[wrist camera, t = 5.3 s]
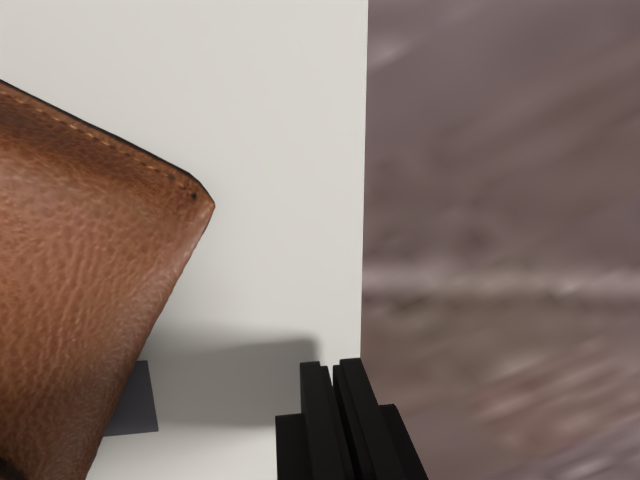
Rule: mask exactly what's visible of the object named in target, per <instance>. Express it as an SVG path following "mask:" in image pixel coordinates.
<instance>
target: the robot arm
mask: <svg viewBox="0 0 640 480" xmlns="http://www.w3.org/2000/svg"><path fill="white" fill-rule="evenodd" d="M300 396H301V413H297V414H287V415H277V416H275V430H276V459H277V480H429V479H428V477H427V475H426V473H425V470H424V468H423V466H422V464H421V461H420V459H419V457H418V455H417V452H416V450H415V448H414V446H413V443H412V441H411V439H410V436H409V434H408V432H407V430H406V427H405V425H404V423H403V421H402V418H401V416H400V414H399V412H398V409H397V408H396V406H395V405H394V404H388V405H378V403H377V400H376V398H375V395H374V393H373V390H372V387H371V385H370V382H369V380H368V377H367V374H366V372H365V369H364V367H363V364H362V361H361V359H360V358H347V359H340V361H339V365H333V386H332V382H331V378H330V374H329V370H328V366H321V365H320V361H312V362H300Z"/></svg>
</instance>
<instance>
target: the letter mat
mask: <svg viewBox="0 0 640 480" xmlns="http://www.w3.org/2000/svg"><path fill="white" fill-rule="evenodd" d="M367 24H368V0H0V79H1V80H3V81H5V82H7V83H9V84H11V85H13V86H15V87H17V88H19V89H21V90H23V91H25V92H27V93H29V94H31V95H33V96H36V97H38V98H40V99H42V100H44V101H46V102H48V103H50V104H52V105H54V106H56V107H58V108H60V109H62V110H64V111H66V112H68V113H70V114H72V115H74V116H76V117H78V118H80V119H82V120H84V121H86V122H88V123H91V124H93V125H95V126H97V127H99V128H102V129H104V130H106V131H108V132H110V133H113V134H115V135H117V136H119V137H121V138H123V139H125V140H127V141H129V142H131V143H133V144H135V145H137V146H139V147H141V148H143V149H145V150H147V151H149V152H151V153H152V154H154V155H156V156H158V157H160V158H162V159H164V160H166V161H168V162H170V163H172V164H174V165H176V166H178V167H180V168H182V169H183V170H185V171H187V172H189V173H190V174H192V175H193V176H194V177H195V178H196V179H197V180H199V181H200V182H201V183H202V185H203V186H204V187H205V189H206V190H207V191H208V193H209V194H210V196H211V197H212V199H213V200H214V202H215V209H214V211H213V214H212V217H211V220H210V222H209V224H208V226H207V228H206V230H205V232H204V233H203V235H202V237H201V239H200V241H199V242H198V244H197V246H196V248H195V250H194V251H193V253H192V256H191V258H190V260H189V261H188V263H187V264H186V266H185V268H184V270H183V273H182V274H181V276H180V277H179V279H178V281H177V283H176V285H175V287H174V289H173V292H172V294H171V295H170V297H169V299H168V301H167V303H166V305H165V307H164V309H163V311H162V313H161V314H160V316H159V317H158V319H157V321H156V323H155V325H154V327H153V329H152V331H151V333H150V335H149V337H148V338H147V340H146V343H145V345H144V347H143V348H142V351H141V353H140V355H139V357H138V359H137V361H136V364H135V366H134V369H133V372H132V373H131V375H130V376H129V378H128V381H127V383H126V385H125V388H124V390H123V393H122V395H121V397H120V399H119V401H118V404H117V406H116V409H115V412H114V414H113V415H112V417H111V419H110V421H109V424H108V426H107V428H106V431H105V432H104V436H103V438H102V441H101V444H100V446H99V448H98V450H97V455H96V457H95V459H94V461H93V463H92V466H91V468H90V470H89V472H88V474H87V477H86V480H277V459H276V430H275V416H277V415H287V414H297V413H301V396H300V362H312V361H320V365H321V366H328V370H329V374H330V378H331V382H332V386H333V365H339V361H340V359H347V358H360V334H361V289H362V245H363V201H364V157H365V113H366V69H367Z"/></svg>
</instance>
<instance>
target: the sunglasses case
mask: <svg viewBox="0 0 640 480" xmlns="http://www.w3.org/2000/svg"><path fill="white" fill-rule="evenodd" d="M214 209H215V202H214V200H213V199H212V197H211V196H210V194H209V193H208V191H207V190H206V189H205V187H204V186H203V185H202V183H201V182H200V181H199V180H197V179H196V178H195V177H194V176H193V175H192V174H190V173H189V172H187V171H185V170H183V169H182V168H180V167H178V166H176V165H174V164H172V163H170V162H168V161H166V160H164V159H162V158H160V157H158V156H156V155H154V154H152V153H151V152H149V151H147V150H145V149H143V148H141V147H139V146H137V145H135V144H133V143H131V142H129V141H127V140H125V139H123V138H121V137H119V136H117V135H115V134H113V133H110V132H108V131H106V130H104V129H102V128H99V127H97V126H95V125H93V124H91V123H88V122H86V121H84V120H82V119H80V118H78V117H76V116H74V115H72V114H70V113H68V112H66V111H64V110H62V109H60V108H58V107H56V106H54V105H52V104H50V103H48V102H46V101H44V100H42V99H40V98H38V97H36V96H33V95H31V94H29V93H27V92H25V91H23V90H21V89H19V88H17V87H15V86H13V85H11V84H9V83H7V82H5V81H3V80H1V79H0V480H86V477H87V474H88V472H89V470H90V468H91V466H92V463H93V461H94V459H95V457H96V455H97V450H98V448H99V446H100V444H101V441H102V438H103V436H104V432H105V431H106V428H107V426H108V424H109V421H110V419H111V417H112V415H113V414H114V412H115V409H116V406H117V404H118V401H119V399H120V397H121V395H122V393H123V390H124V388H125V385H126V383H127V381H128V378H129V376H130V375H131V373H132V372H133V369H134V366H135V364H136V361H137V359H138V357H139V355H140V353H141V351H142V348H143V347H144V345H145V343H146V340H147V338H148V337H149V335H150V333H151V331H152V329H153V327H154V325H155V323H156V321H157V319H158V317H159V316H160V314H161V313H162V311H163V309H164V307H165V305H166V303H167V301H168V299H169V297H170V295H171V294H172V292H173V289H174V287H175V285H176V283H177V281H178V279H179V277H180V276H181V274H182V273H183V270H184V268H185V266H186V264H187V263H188V261H189V260H190V258H191V256H192V253H193V251H194V250H195V248H196V246H197V244H198V242H199V241H200V239H201V237H202V235H203V233H204V232H205V230H206V228H207V226H208V224H209V222H210V220H211V217H212V214H213V211H214Z"/></svg>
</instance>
